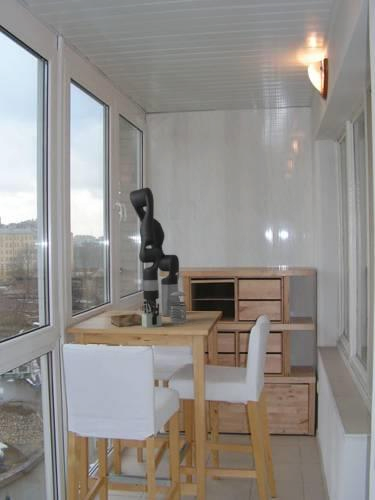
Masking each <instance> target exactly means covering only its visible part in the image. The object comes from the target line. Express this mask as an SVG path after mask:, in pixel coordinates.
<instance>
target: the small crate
mask: <svg viewBox="0 0 375 500" xmlns="http://www.w3.org/2000/svg"><path fill="white" fill-rule="evenodd" d="M141 315H142V325H141V326H142V327H143V328H146V329H147V328H154V327H155V328H156V327H162V326H163V319H162V312H161V313H160V312H159V316H157V324H156V325H153V324H152V314H151V313H145V312H143V313H141Z"/></svg>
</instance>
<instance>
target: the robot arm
mask: <svg viewBox="0 0 375 500" xmlns="http://www.w3.org/2000/svg"><path fill="white" fill-rule="evenodd" d="M129 200H130V203H131V205H132V208H133V209H134V211H135V213H136V215H137V217H138V219H139V221H140V226H139V235H140V250H139V255H138V258H139V261H140V262H141V263H143V264H148V263H150V264H151V263H152V265H151V266H148V267H145V268H143V272H142V274H143V275H142V276H143V277H142V279H143V283H142V292H143V294H142V296H143V297H142V298H143V299H144V300H145V301H143V310H144V311H143V313H151V314H152V324H153V325H156V324H157V316H159V313H160V303H157V300H158V299H159V298H160V293H159V292H160V291H159V290H160V289H161V314H162V316H163V317H171V305H181V304H172V302H178V296H171V294H172V293H174V292H177V291H179V278H180V277H179V276H180V275H176V273H177V272H178V273H179V274H180V260H179V257H178V255H176V254H166V253H165V252H164V250H163V244H164V240H165V231H164V229H163V226H162V224H161V223H160V222H159V221H158V220H157V219H156V218H155V217H154V212H155V210H154V206H155V205H154V204H155V203H154V202H155V201H154V195H153V191H152V190H151V188H150V187H143V188H139V189H136V190H132V191H130V193H129ZM145 207H146V209H144V208H145ZM148 246H149V247H150V248H148ZM159 270H160V271H161V272H168V275H167V276H166V277H163V278H161V279H160V280H161V281H160V283H161V288H160V289H159V280H158V279H159V273H158V272H159ZM170 297H171V298H172V300H170ZM168 298H169V299H168ZM167 299H168V300H167ZM166 300H167V303H166V304H167V307H166V306H165V302H166ZM179 302H181V298H180V297H179ZM166 308H168V309H169V310H170V312H169V310H168V309H166ZM176 310H178V309H176ZM174 312H175V311H174ZM176 313H179V312H176ZM176 315H178V314H176Z"/></svg>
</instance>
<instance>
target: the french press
mask: <svg viewBox="0 0 375 500" xmlns="http://www.w3.org/2000/svg"><path fill="white" fill-rule="evenodd" d="M176 275H179V276H180V272H179V273H178V272H177V273H176ZM171 296H178V302H172V304H180V305H171V316H170V320H169V323H171V324H183V323H188V322H189V320H188V319H187V304H186V302H185V301H180V302H179V298H180V297H186V296H187V294H186V293H185V292H183V291H179V290H178V291H177V292H174V293H172V294H171ZM168 299H169V298H168ZM168 299H167V300H168ZM167 300H166V302H165V306H166V307H167V304H166V303H167ZM170 300H172V298H171V297H170ZM166 309H168V308H166ZM176 309H178V310H176ZM168 310H169V309H168ZM174 311H175V312H174ZM169 312H170V310H169ZM176 312H179V313H176ZM176 314H178V315H176Z"/></svg>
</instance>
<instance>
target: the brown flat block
mask: <svg viewBox="0 0 375 500" xmlns="http://www.w3.org/2000/svg"><path fill="white" fill-rule="evenodd" d="M110 325H113V326H115V327H118V328H124V327H125V326H126V327H134V326H135V325H136V326H142V314H138V313H128V314H119V315H118V314H117V315H110ZM126 327H125V328H126Z"/></svg>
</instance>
